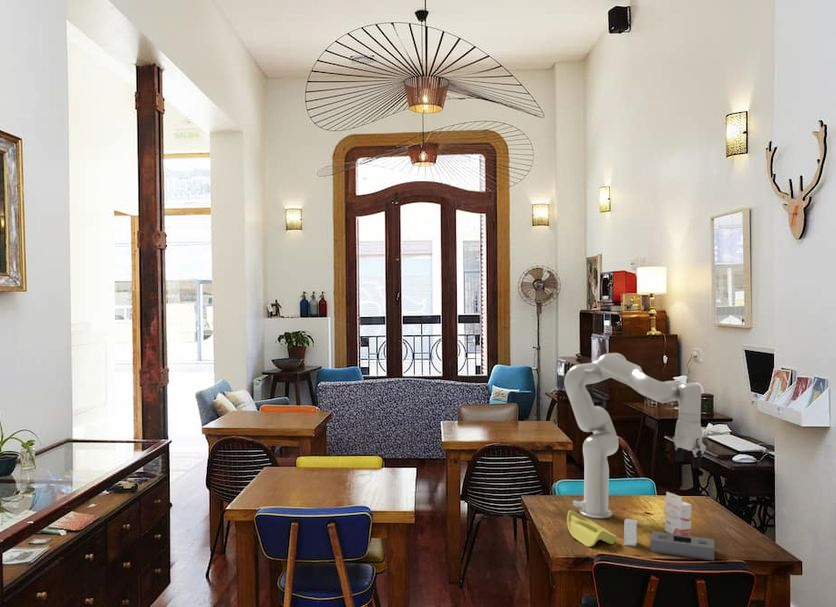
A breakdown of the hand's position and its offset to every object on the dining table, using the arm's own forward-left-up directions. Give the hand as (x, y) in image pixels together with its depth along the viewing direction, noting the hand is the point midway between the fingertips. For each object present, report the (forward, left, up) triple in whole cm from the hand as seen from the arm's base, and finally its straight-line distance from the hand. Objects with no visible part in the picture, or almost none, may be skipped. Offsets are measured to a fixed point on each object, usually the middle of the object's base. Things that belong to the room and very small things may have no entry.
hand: (688, 464), depth 256 cm
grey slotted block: (-1, -19, -26) cm, 32 cm away
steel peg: (-18, -19, -26) cm, 37 cm away
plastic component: (-32, -18, -26) cm, 45 cm away
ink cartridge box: (-3, 0, -26) cm, 26 cm away
